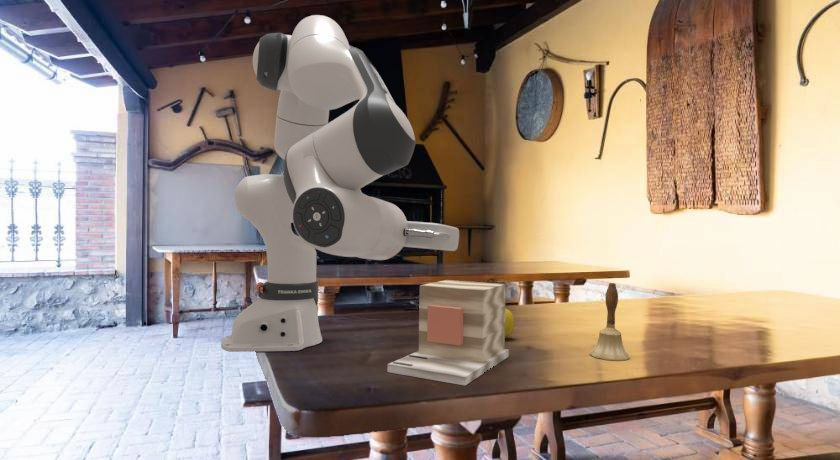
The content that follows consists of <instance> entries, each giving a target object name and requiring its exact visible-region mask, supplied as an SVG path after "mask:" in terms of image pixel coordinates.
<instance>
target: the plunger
mask: <svg viewBox="0 0 840 460" xmlns="http://www.w3.org/2000/svg"><path fill="white" fill-rule="evenodd" d="M427 341H430V342H437V343H445V344H452V345H462V344H463V308H459V307H449V306H439V305H429V306H428V317H427Z"/></svg>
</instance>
